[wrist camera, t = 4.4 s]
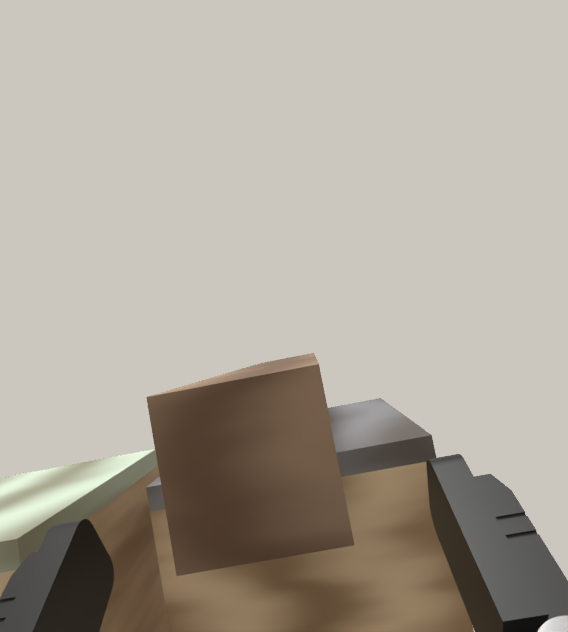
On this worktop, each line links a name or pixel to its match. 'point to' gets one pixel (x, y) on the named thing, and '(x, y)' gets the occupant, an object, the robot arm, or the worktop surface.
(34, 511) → the tower
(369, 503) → the tower
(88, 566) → the robot arm
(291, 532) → the walnut bar
